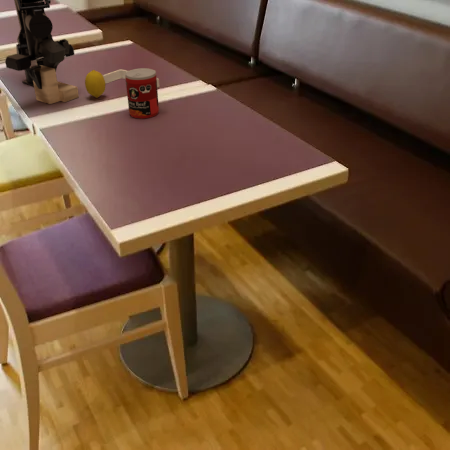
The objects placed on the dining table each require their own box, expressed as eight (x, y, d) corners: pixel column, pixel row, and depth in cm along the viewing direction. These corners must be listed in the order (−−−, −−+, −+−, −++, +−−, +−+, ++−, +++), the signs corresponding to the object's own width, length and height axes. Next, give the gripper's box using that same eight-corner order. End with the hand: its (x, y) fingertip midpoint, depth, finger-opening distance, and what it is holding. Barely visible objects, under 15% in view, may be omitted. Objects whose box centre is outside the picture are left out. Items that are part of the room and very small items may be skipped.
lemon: (109, 94, 175) (105, 67, 171) (103, 101, 170) (100, 73, 166) (90, 94, 175) (86, 66, 171) (84, 101, 171) (80, 72, 167)
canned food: (123, 116, 160) (119, 75, 155) (140, 106, 166) (137, 66, 161) (147, 121, 157) (144, 79, 152) (164, 110, 163) (161, 70, 158)
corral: (91, 87, 180) (90, 79, 179) (121, 77, 189) (120, 69, 187) (129, 98, 172) (128, 89, 171) (159, 86, 180) (158, 78, 179)
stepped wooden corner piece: (32, 98, 173) (26, 67, 168) (56, 90, 179) (51, 59, 174) (54, 105, 168) (49, 73, 163) (78, 97, 173) (74, 65, 169)
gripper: (25, 41, 151) (36, 102, 159) (83, 26, 163) (91, 83, 171) (-2, 35, 157) (10, 94, 165) (56, 20, 169) (65, 76, 177)
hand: (46, 87), depth 169 cm, fingers closed on stepped wooden corner piece, 3 cm apart
